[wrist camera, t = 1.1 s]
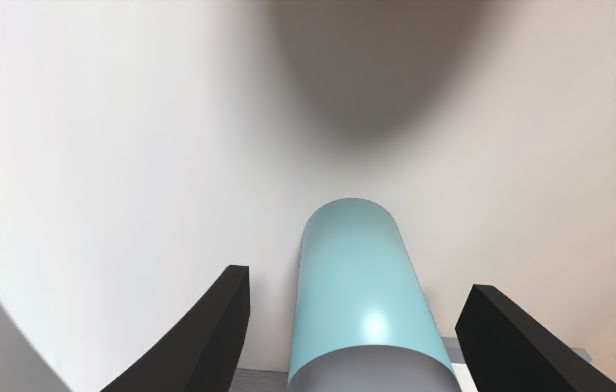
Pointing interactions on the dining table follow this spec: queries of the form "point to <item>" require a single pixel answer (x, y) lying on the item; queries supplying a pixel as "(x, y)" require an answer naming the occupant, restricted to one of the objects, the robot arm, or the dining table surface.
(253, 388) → the button housing
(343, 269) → the marker
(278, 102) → the dining table surface
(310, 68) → the dining table surface
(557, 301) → the dining table surface
